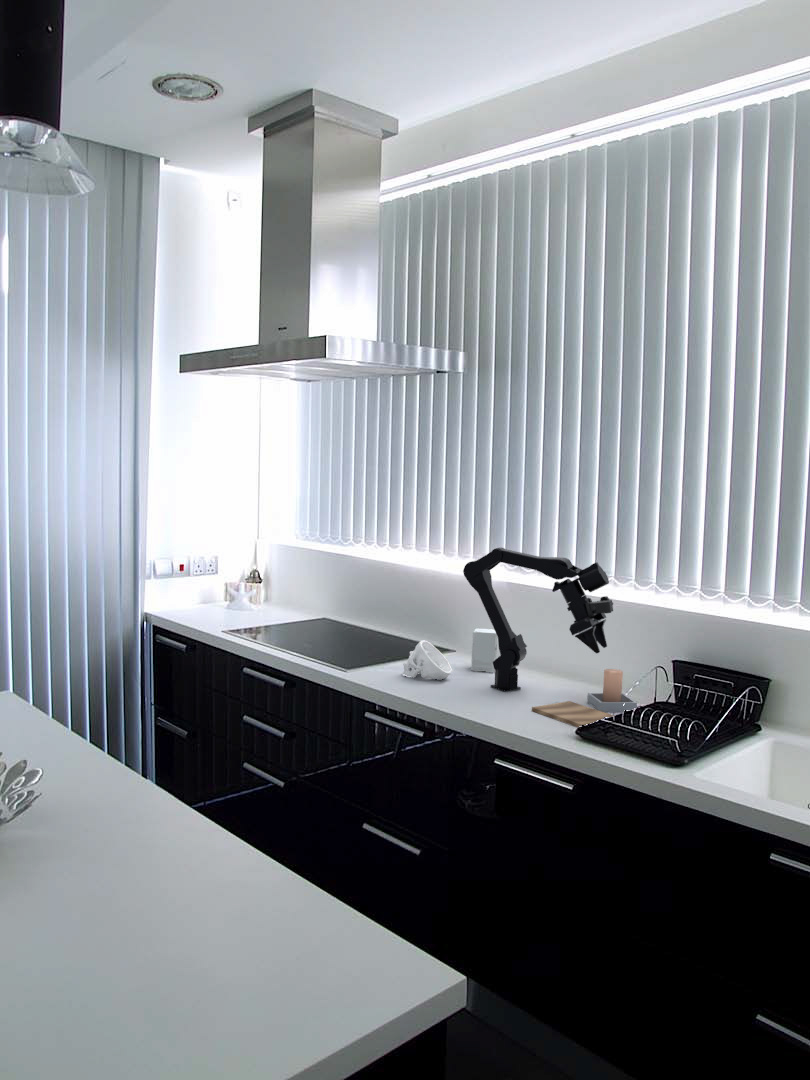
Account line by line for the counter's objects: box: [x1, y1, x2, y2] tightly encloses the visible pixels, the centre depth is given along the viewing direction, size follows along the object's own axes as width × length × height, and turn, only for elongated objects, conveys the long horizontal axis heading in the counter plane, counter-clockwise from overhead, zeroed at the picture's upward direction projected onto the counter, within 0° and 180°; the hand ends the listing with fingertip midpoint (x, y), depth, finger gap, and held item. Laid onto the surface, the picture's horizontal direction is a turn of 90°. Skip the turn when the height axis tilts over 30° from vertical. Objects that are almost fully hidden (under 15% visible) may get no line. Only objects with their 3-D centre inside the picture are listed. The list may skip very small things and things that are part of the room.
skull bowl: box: [402, 639, 453, 681], centre depth 278 cm, size 10×14×12 cm
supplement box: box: [470, 628, 498, 673], centre depth 292 cm, size 7×7×13 cm
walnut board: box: [531, 700, 615, 728], centre depth 242 cm, size 18×14×1 cm
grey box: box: [586, 692, 638, 713], centre depth 252 cm, size 10×10×2 cm
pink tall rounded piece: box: [602, 668, 624, 702], centre depth 252 cm, size 5×5×10 cm
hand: (601, 650), depth 256 cm, fingers open, 9 cm apart
